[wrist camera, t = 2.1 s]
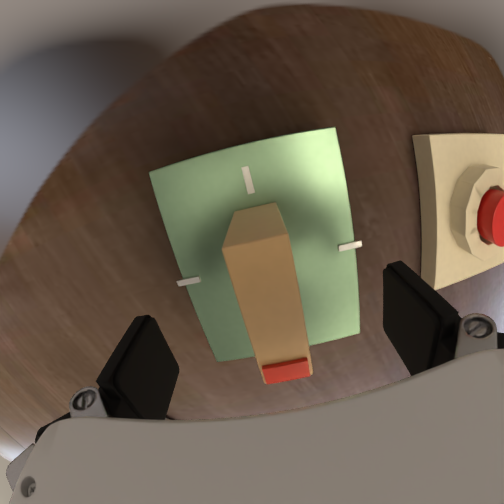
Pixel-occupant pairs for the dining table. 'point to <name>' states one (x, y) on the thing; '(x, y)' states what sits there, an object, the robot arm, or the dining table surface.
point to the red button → (492, 217)
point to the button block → (456, 203)
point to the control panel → (294, 217)
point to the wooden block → (268, 292)
